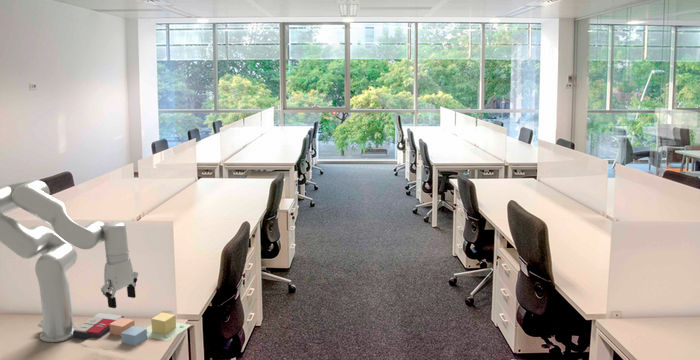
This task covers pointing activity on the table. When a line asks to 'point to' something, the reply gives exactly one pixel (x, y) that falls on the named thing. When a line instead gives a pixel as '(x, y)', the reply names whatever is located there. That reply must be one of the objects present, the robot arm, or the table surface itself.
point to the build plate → (169, 335)
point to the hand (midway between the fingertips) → (122, 302)
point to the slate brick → (134, 335)
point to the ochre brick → (163, 323)
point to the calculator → (95, 326)
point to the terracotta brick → (120, 326)
